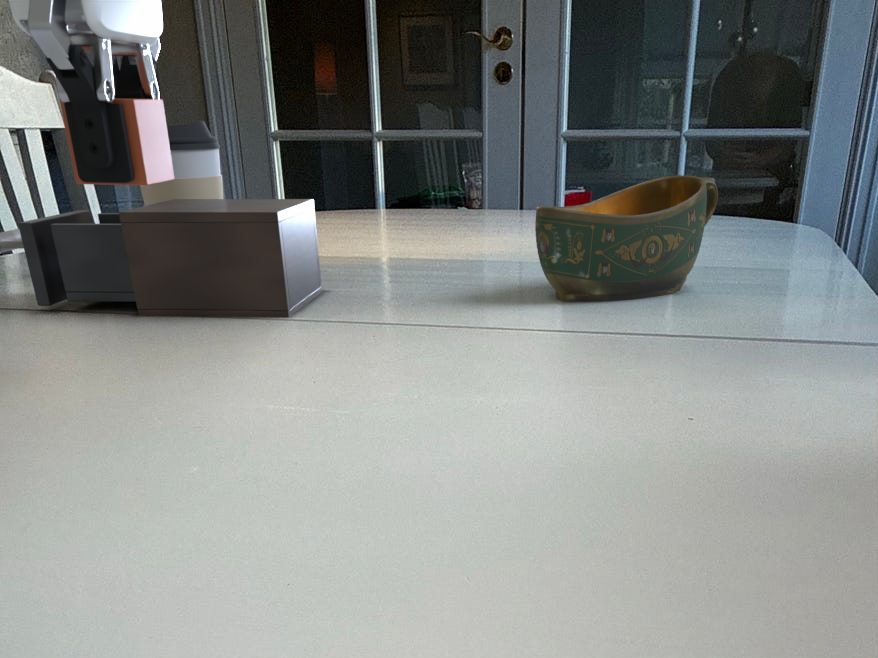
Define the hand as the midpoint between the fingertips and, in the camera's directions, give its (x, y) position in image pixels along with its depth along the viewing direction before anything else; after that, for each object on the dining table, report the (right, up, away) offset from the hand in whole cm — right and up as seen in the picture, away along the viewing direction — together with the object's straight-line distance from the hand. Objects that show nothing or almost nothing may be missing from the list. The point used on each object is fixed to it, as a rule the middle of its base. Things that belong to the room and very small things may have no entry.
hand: (125, 175), depth 55 cm
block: (0, 0, 0) cm, 0 cm away
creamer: (+36, +5, +34) cm, 50 cm away
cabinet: (-1, +3, +29) cm, 30 cm away
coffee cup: (-10, +12, +45) cm, 47 cm away
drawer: (-14, +4, +30) cm, 33 cm away
